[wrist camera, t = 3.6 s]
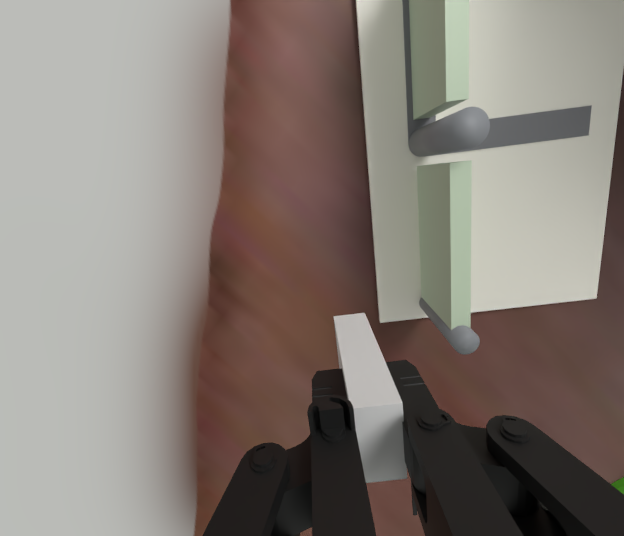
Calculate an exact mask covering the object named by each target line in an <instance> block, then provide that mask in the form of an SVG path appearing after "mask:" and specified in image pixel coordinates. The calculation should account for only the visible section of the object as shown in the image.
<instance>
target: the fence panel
mask: <svg viewBox="0 0 624 536" xmlns="http://www.w3.org/2000/svg"><path fill="white" fill-rule="evenodd" d="M471 180H472V160H470V161H459V162H449V163H438V164H429V165H421V166H417V187H418V215H419V242H420V270H421V298H420V301H419V305H420V307H421V309H422V310H423V311H424V312H425V314H426V315H427V316H428V317H429V318H430V320H431V321H432V322H433V323H434V324H435V326H436V327H437V328H438V329H439V331H440V332H441V333H442V334H443V335H444V337H445V338H446V339H447V340H448V341H449V343H450V344H451V345H452V346H453V348H454V349H455V350H456V351H457V352H458V353H460V354H470V353H472V352H474V351H475V350H476V349H477V348H478V346H479V343H480V340H479V337H478V335H477V334H476V333H475V332H474V331H473V330H472V329H471V328H470V320H471Z"/></svg>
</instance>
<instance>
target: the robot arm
mask: <svg viewBox="0 0 624 536" xmlns="http://www.w3.org/2000/svg"><path fill="white" fill-rule="evenodd" d="M334 325H335V333H336V342H337V351H338V359H339V368H340V369H332V370H324V371H317V372H316V374H315V375H314V377H313V379H312V403H311V404H310V406H309V408H308V412H307V413H308V419H309V426H310V433H311V434H310V435H309V437H308V438H307V439H306V440H305V441H304V442H302V443H301V444H299V445H297V446H295V447H293V448H291V449H288V450H286V451H285V449H284V448H283V447H282V446H280V445H279V444H275V443H263V444H260V445H257V446H255V447H253V448H252V449H251V450H249V451H248V452H247V453H246V454H245V455H244V457H243V458H242V459H241V461H240V463H239V465H238V467H237V469H236V471H235V473H234V475H233V477H232V479H231V481H230V483H229V485H228V487H227V489H226V491H225V493H224V495H223V497H222V499H221V500H220V502H219V504H218V506H217V508H216V510H215V512H214V514H213V516H212V518H211V520H210V522H209V524H208V526H207V528H206V530H205V532H204V534H203V536H300V532H302V531H304V530H306V529H308V528H310V527H312V536H376V533H375V528H374V522H373V517H372V512H371V507H370V502H369V496H368V491H367V486H366V483H370V482H379V481H388V480H398V479H407V469H408V472H409V475H410V478H411V488H412V506H413V515H417V511H418V514H419V517H420V520H421V523H422V527H423V530H424V533H425V536H624V494H623V493H621V492H620V491H619V490H617V489H616V488H615V487H613V486H612V485H611V484H610V483H608V482H607V481H606V480H604V479H603V478H602V477H600V476H599V475H598V474H597V473H595V472H594V471H593V470H591V469H590V468H589V467H587V466H586V465H585V464H584V463H582V462H581V461H580V460H578V459H577V458H576V457H574V456H573V455H572V454H571V453H569V452H568V451H567V450H565V449H564V448H563V447H561V446H560V445H559V444H558V443H556V442H555V441H554V440H552V439H551V438H550V437H548V436H547V435H546V434H545V433H543V432H542V431H541V430H539V429H538V428H537V427H536V426H534V425H532V424H531V423H529V422H527V421H526V420H523V419H520V418H517V417H514V416H506V415H502V416H495V417H494V418H492V419H490V420H489V421H488V423H487V425H486V428H478V427H470V426H465V425H461V424H458V423H456V422H455V421H454V419H453V418H452V417H451V416H450V415H449V414H448V413H446V412H444V411H443V410H441V409H439V407H438V406H437V404H436V402H435V400H434V399H433V397H432V395H431V393H430V392H429V390H428V388H427V386H426V385H425V384H424V381H423V379H422V378H421V377H420V374H419V372H418V371H417V369H416V367H415V366H414V365H412V364H411V363H409V362H408V361H407V360H402V361H393V362H385V360H384V357H383V355H382V353H381V350H380V348H379V346H378V343H377V341H376V338H375V336H374V334H373V331H372V329H371V327H370V324H369V322H368V319H367V317H366V315H365V313H358V314H350V315H341V316H334ZM406 466H407V467H406Z"/></svg>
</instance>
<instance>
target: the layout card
mask: <svg viewBox="0 0 624 536" xmlns="http://www.w3.org/2000/svg"><path fill="white" fill-rule="evenodd" d="M356 13H357V27H358V40H359V54H360V67H361V81H362V94H363V108H364V121H365V135H366V148H367V161H368V175H369V188H370V202H371V215H372V229H373V242H374V256H375V269H376V283H377V296H378V309H379V321H380V323H384V322H393V321H401V320H410V319H419V318H428V316H427V315H426V314H425V312H424V311H423V310H422V309H421V307H420V305H419V301H420V298H421V270H420V242H419V215H418V187H417V166H421V165H429V164H438V163H449V162H459V161H470V160H472V180H471V313H472V312H481V311H490V310H499V309H508V308H517V307H526V306H535V305H543V304H552V303H561V302H570V301H579V300H588V299H597V290H598V282H599V273H600V265H601V256H602V248H603V239H604V231H605V222H606V214H607V205H608V197H609V188H610V180H611V171H612V163H613V154H614V146H615V137H616V129H617V120H618V112H619V103H620V95H621V86H622V78H623V69H624V0H469V99H467V100H465V101H463V102H461V103H459V104H457V105H455V106H453V107H451V108H449V109H447V110H445V111H443V112H441V113H439V114H437V115H434V116H432V117H430V118H423V119H416V120H413V96H412V69H411V42H410V16H409V0H356ZM467 107H478V108H481V109H482V110H483V111H485V113H486V114H487V115H488V117H489V121H490V129H489V133H488V135H487V137H486V139H485V140H484V141H483V142H482V143H481V144H480V145H479V146H477V147H475V148H471V149H466V150H460V151H454V152H448V153H442V154H436V155H430V156H424V157H418V156H415V155H414V154H412V153H411V151H410V149H409V145H408V144H409V138H410V136H411V134H412V133H413V132H414V131H415V130H417V129H419V128H421V127H423V126H426V125H428V124H430V123H432V122H435V121H437V120H439V119H442V118H444V117H446V116H448V115H451V114H453V113H455V112H457V111H460V110H462V109H464V108H467Z"/></svg>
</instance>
